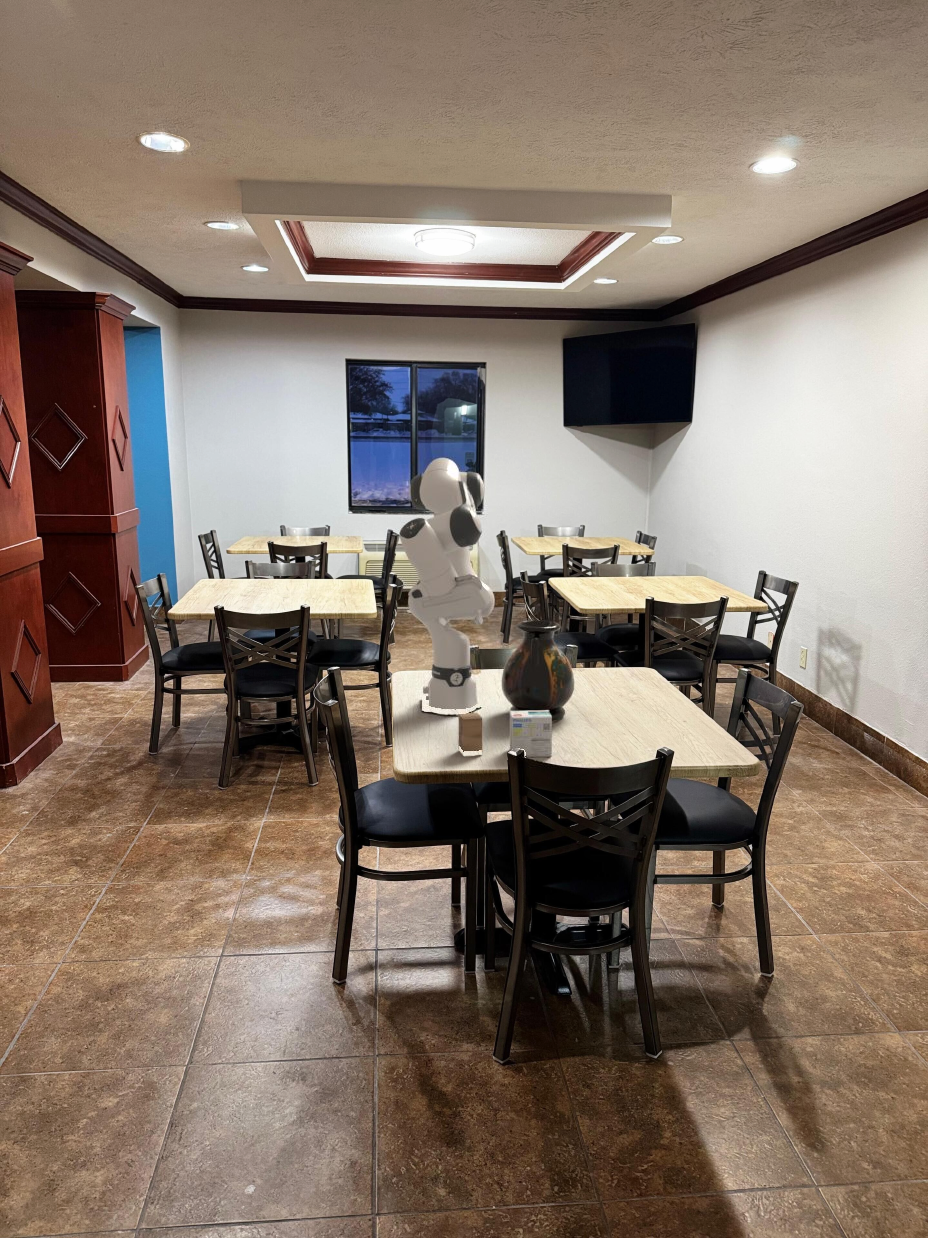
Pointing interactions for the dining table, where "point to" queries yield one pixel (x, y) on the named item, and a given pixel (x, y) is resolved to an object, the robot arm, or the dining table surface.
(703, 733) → the dining table surface
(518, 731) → the light bulb box
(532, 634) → the dark painted vase
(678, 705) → the dining table surface
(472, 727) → the walnut block
